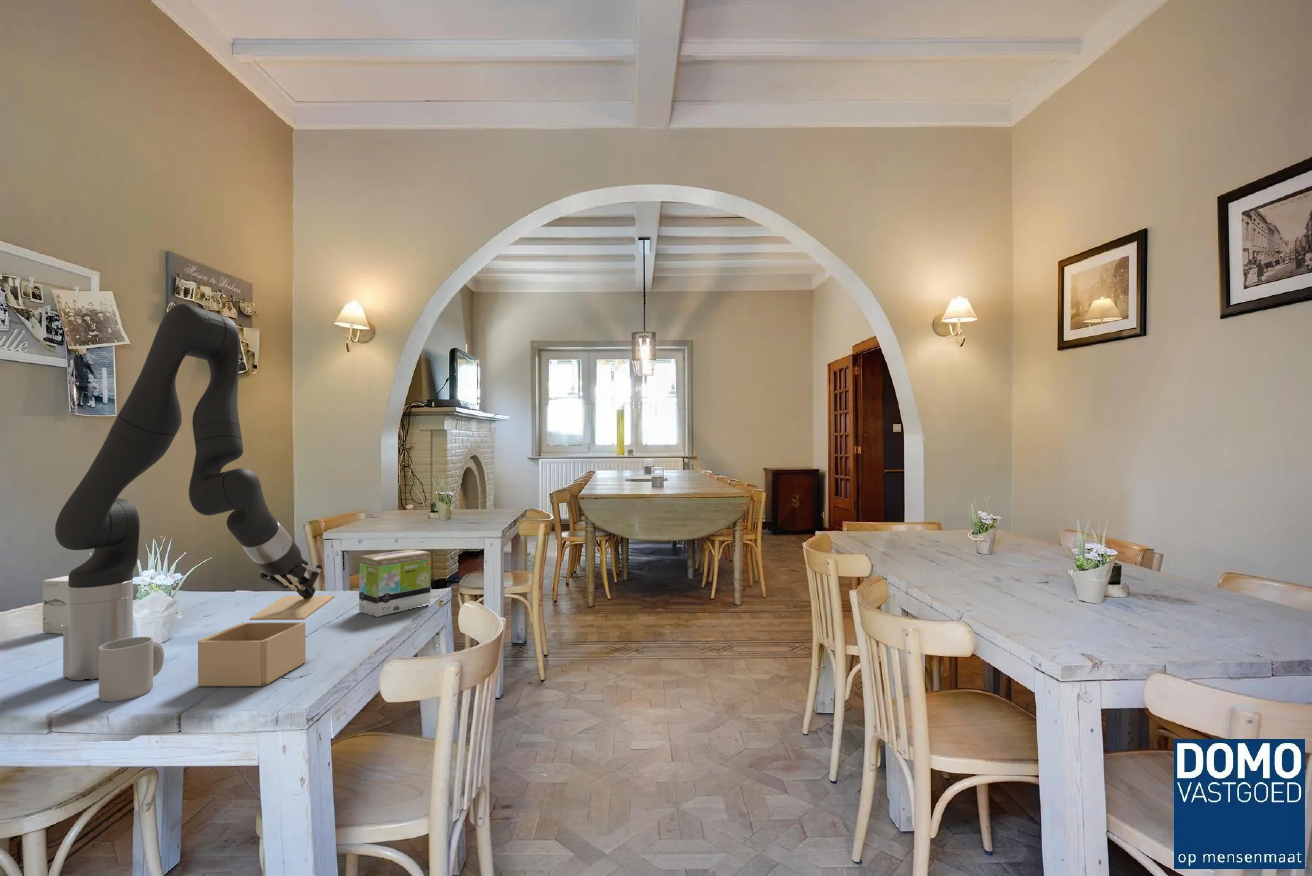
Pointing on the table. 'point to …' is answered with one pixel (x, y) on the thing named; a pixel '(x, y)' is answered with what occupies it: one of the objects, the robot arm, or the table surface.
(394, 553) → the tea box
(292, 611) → the flap
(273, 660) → the carton
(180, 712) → the table surface
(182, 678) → the table surface
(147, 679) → the cup
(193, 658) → the table surface
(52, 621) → the supplement box
